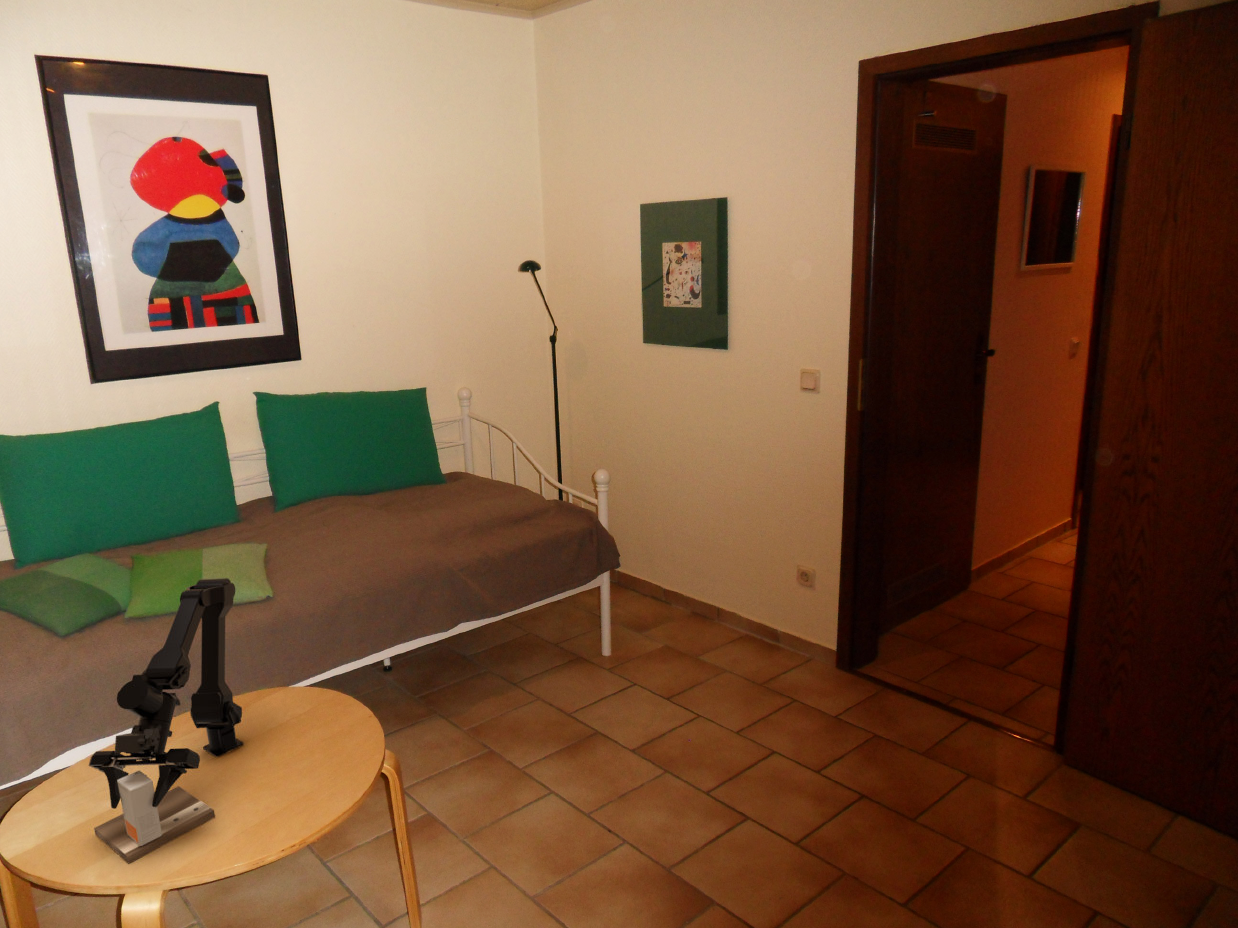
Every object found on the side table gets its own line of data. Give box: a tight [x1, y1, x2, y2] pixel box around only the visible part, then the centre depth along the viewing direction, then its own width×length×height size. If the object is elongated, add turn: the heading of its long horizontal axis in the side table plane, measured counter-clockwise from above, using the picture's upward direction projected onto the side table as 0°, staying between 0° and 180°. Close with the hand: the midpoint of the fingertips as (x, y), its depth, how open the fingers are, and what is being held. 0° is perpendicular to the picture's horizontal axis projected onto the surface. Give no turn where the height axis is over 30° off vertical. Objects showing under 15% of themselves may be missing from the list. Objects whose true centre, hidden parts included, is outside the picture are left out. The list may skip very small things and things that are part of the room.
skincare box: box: [117, 770, 162, 846], centre depth 163 cm, size 6×4×12 cm
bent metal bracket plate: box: [93, 785, 216, 864], centre depth 169 cm, size 14×16×2 cm
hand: (133, 807), depth 161 cm, fingers open, 7 cm apart
